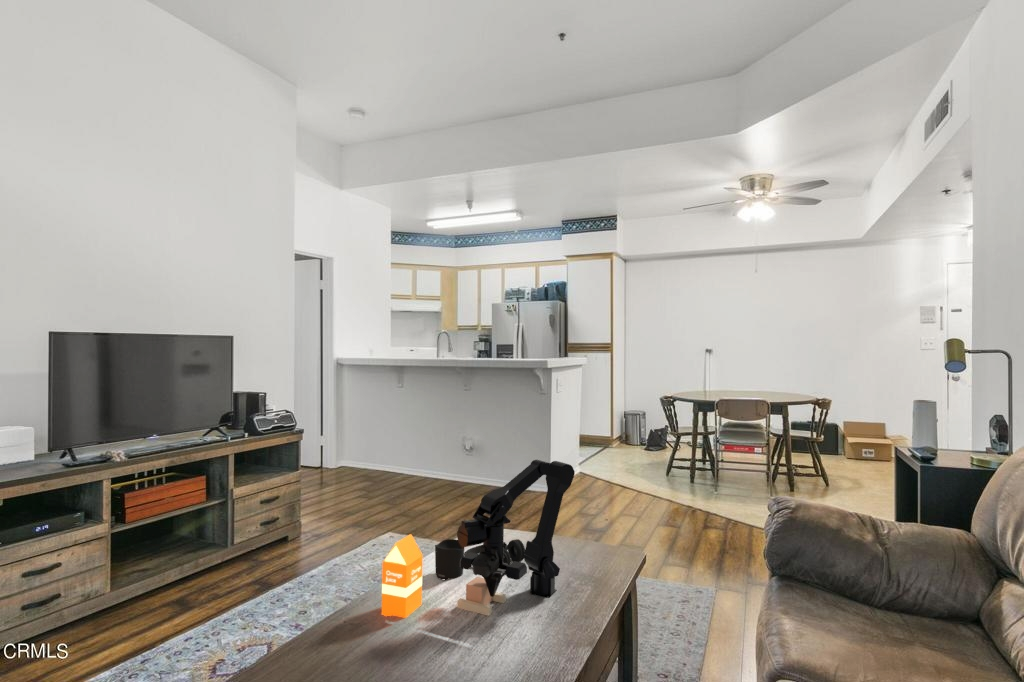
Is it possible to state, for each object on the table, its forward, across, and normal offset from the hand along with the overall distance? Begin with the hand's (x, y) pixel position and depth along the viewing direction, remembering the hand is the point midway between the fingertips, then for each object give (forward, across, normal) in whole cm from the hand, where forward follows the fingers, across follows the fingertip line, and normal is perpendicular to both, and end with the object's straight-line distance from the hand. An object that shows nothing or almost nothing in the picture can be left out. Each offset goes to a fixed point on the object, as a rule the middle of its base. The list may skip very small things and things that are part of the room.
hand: (492, 596), depth 158 cm
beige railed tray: (+4, -7, 0) cm, 8 cm away
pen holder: (+4, -23, +14) cm, 28 cm away
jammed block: (+3, -4, 0) cm, 5 cm away
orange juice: (+4, -22, -13) cm, 25 cm away
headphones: (+4, -17, +32) cm, 36 cm away
